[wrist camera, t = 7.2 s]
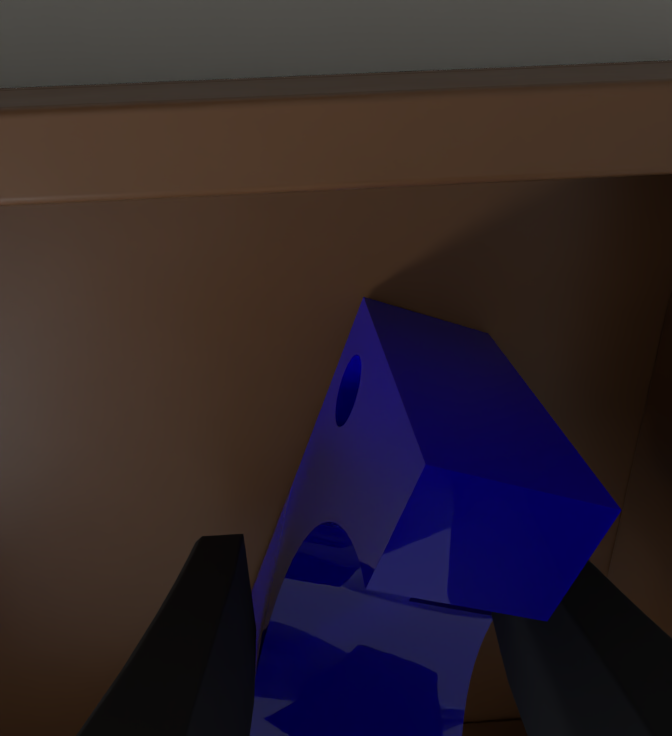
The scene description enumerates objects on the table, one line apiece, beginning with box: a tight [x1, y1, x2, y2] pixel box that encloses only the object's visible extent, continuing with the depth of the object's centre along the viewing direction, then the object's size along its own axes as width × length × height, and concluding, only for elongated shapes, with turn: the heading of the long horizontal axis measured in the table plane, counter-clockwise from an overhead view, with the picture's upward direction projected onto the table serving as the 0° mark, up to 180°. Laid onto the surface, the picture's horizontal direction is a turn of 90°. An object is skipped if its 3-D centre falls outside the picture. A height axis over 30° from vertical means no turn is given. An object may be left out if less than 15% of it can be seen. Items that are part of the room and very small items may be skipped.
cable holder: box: [250, 297, 622, 736], centre depth 9 cm, size 8×4×4 cm, turn 161°
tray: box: [0, 60, 672, 736], centre depth 10 cm, size 16×14×3 cm
